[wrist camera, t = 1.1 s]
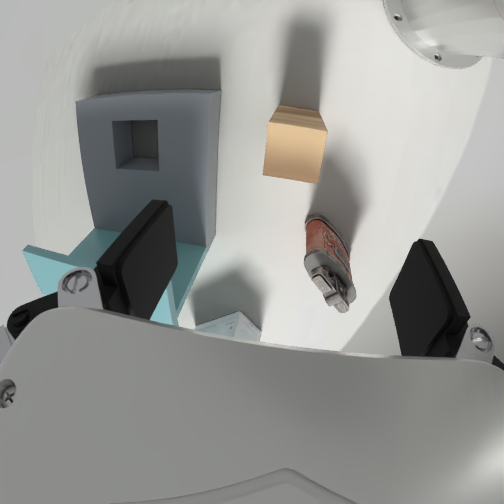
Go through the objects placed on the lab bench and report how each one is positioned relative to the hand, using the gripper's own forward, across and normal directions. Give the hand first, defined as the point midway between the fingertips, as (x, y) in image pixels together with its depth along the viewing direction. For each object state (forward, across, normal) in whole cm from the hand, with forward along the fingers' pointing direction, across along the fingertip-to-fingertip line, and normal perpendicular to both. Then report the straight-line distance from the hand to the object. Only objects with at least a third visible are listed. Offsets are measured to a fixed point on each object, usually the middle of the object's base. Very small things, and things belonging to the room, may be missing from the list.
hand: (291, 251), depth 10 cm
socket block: (+21, +16, +5) cm, 27 cm away
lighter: (+21, -6, +13) cm, 25 cm away
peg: (+21, 0, -1) cm, 21 cm away
